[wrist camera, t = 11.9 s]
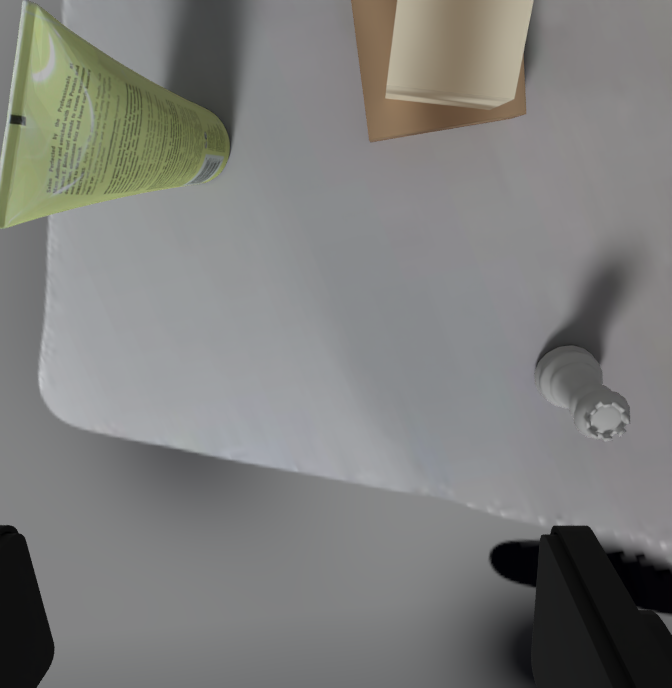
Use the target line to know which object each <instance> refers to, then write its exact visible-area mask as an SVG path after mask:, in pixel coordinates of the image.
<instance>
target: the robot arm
mask: <svg viewBox="0 0 672 688" xmlns="http://www.w3.org/2000/svg"><path fill="white" fill-rule="evenodd" d="M53 656H54V642H53V638H52V635H51V631H50V627H49V624H48V620H47V616H46V613H45V609H44V606H43V602H42V598H41V594H40V591H39V587H38V583H37V579H36V576H35V572H34V568H33V565H32V561H31V558H30V554H29V550H28V546H27V543H26V540H25V537H24V536H23V535H22V534H19V533H18V531H17V529H16V528H15V527H13V526H10V525H0V688H37V686H38V685H39V683H40V681H41V680H42V678H43V677H44V675H45V674H46V672H47V671H48V669H49V667H50V665H51V663H52V660H53ZM531 660H532V670H533V675H534V679H535V682H536V686H537V688H672V635H671V633H670V632H669V630H668V629H667V627H666V625H665V624H664V623H663V621H662V620H661V619H660V617H659V616H658V615H657V614H656V613H654V612H653V611H652V610H638V608H637V607H636V605H635V603H634V602H633V600H632V598H631V596H630V595H629V593H628V591H627V589H626V588H625V586H624V584H623V583H622V581H621V579H620V577H619V576H618V574H617V572H616V571H615V569H614V567H613V565H612V564H611V562H610V560H609V558H608V557H607V555H606V553H605V552H604V550H603V548H602V546H601V545H600V543H599V541H598V540H597V538H596V536H595V534H594V533H593V531H592V530H591V528H590V527H588V526H553V527H552V529H551V534H550V535H541V538H540V547H539V560H538V573H537V586H536V600H535V612H534V625H533V638H532V651H531Z"/></svg>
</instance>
